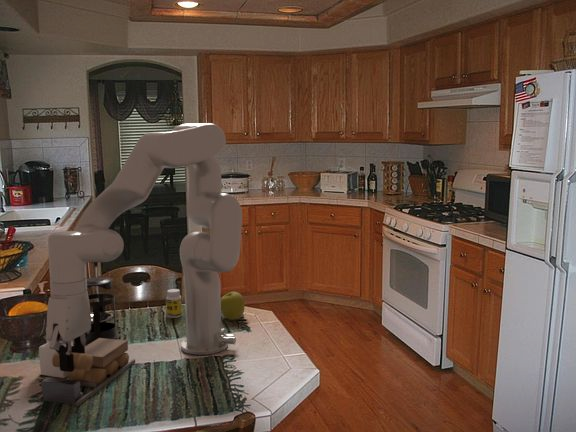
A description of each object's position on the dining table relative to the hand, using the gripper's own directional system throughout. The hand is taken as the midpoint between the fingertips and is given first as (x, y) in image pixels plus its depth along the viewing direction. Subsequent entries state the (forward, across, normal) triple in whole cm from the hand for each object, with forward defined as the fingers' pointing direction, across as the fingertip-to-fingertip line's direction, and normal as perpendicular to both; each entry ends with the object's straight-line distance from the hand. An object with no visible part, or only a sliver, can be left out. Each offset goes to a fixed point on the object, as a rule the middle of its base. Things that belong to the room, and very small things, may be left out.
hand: (72, 366), depth 125 cm
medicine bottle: (+6, -9, -10) cm, 15 cm away
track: (+6, -6, 0) cm, 8 cm away
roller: (0, 0, 0) cm, 0 cm away
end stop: (+6, +5, 0) cm, 8 cm away
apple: (+5, -57, +17) cm, 60 cm away
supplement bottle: (+5, -55, -2) cm, 55 cm away
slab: (+2, -11, 0) cm, 11 cm away
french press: (+6, -32, -14) cm, 35 cm away
